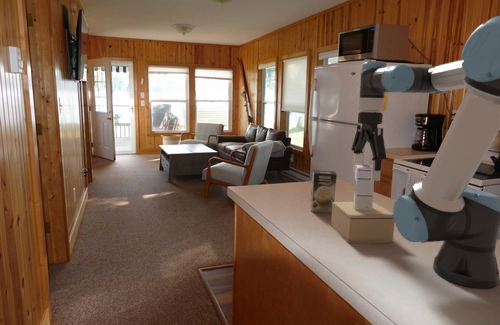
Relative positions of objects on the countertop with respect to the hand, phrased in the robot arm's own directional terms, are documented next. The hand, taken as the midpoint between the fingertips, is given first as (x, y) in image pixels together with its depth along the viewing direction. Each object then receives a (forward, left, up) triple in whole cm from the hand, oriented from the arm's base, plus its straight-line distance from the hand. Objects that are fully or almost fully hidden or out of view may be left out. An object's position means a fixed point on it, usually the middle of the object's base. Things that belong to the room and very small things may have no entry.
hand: (365, 176), depth 120 cm
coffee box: (+26, +5, -20) cm, 34 cm away
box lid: (0, 0, -12) cm, 12 cm away
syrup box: (0, 0, -11) cm, 11 cm away
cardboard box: (0, 0, -20) cm, 20 cm away
